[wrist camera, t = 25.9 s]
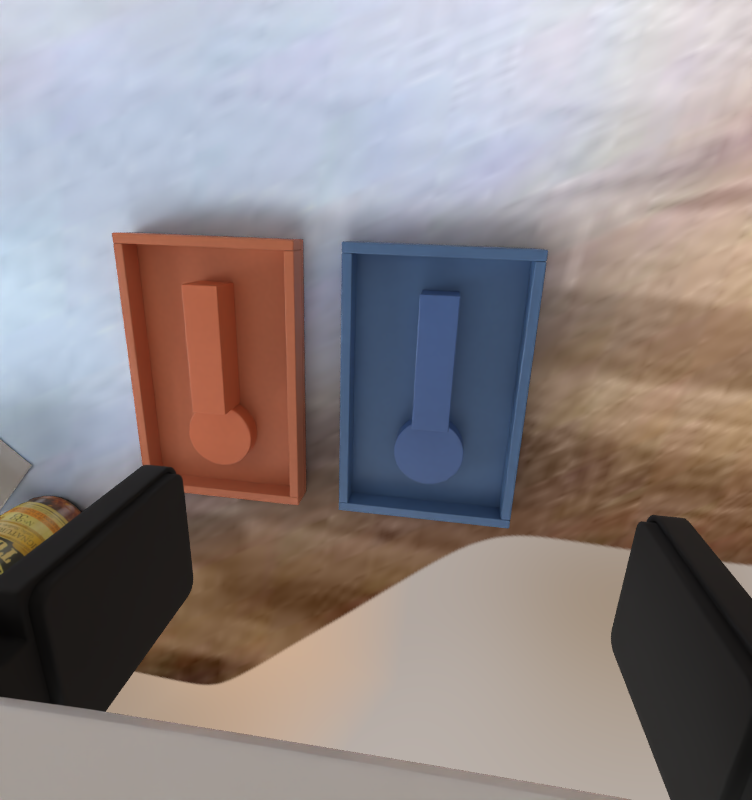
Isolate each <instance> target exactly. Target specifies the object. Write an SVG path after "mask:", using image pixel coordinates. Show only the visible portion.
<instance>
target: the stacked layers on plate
mask: <svg viewBox="0 0 752 800" xmlns="http://www.w3.org/2000/svg"><path fill="white" fill-rule="evenodd" d="M31 466H32V465H31V464H30V463H29V462H27V461H26V460H25V459H24V458H22V457H21V456H20V455H19V454H18V453H16V452H15V451H14V450H13V449H11V448H10V447H9V446H8V445H7V444H5V443H4V442H3V441H2V440H0V510H1V508H2V507H3V506H4V504H5V503H6V501H7V500H8V498H9V497H10V496H11V494H12V493H13V491H14V490H15V489H16V487H17V486H18V484H19V483H20V482H21V480H22V479H23V477H24V476H25V474H26V473H27V472H28V470H29V469H30V467H31Z"/></svg>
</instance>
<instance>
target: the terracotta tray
mask: <svg viewBox="0 0 752 800" xmlns="http://www.w3.org/2000/svg"><path fill="white" fill-rule="evenodd" d="M112 237H113V243H114V244H113V245H114V253H115V260H116V268H117V275H118V283H119V290H120V298H121V305H122V313H123V321H124V328H125V336H126V343H127V351H128V358H129V366H130V373H131V381H132V389H133V396H134V404H135V411H136V419H137V426H138V434H139V441H140V449H141V456H142V464H143V465H156V466H166V467H172V468H173V469H174V470H175V472H176V474H179V475H180V476H181V477H182V479H183V485H184V493H192V494H202V495H211V496H220V497H229V498H238V499H247V500H256V501H265V502H274V503H283V504H292V505H299V503H300V501H301V499H302V498H303V496H304V494H305V492H306V427H305V351H304V275H303V239H282V238H257V237H232V236H207V235H181V234H156V233H112ZM196 281H220V282H233V284H234V301H235V319H236V336H237V354H238V371H239V389H240V403H239V404H240V405H241V406H243V407H244V408H245V409H246V410H247V411H248V412H249V413H250V414H251V416H252V417H253V419H254V421H255V424H256V428H257V439H256V442H255V445H254V447H253V448H252V450H251V451H250V452H249V453H248V454H247V455H246V456H245V457H244V458H243V459H242V460H240V461H239V462H237V463H234V464H230V465H221V464H216V463H213V462H210V461H209V460H207V459H205V458H204V457H203V456H201V455H200V454H199V453H198V452H197V450H196V449H195V448H194V446H193V444H192V442H191V439H190V435H189V425H190V421H191V418H192V416H193V415H194V413H195V412H193V407H192V396H191V385H190V374H189V363H188V352H187V341H186V330H185V319H184V308H183V297H182V286H181V285H182V284H185V283H190V282H196Z"/></svg>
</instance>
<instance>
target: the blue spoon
mask: <svg viewBox="0 0 752 800" xmlns="http://www.w3.org/2000/svg"><path fill="white" fill-rule="evenodd" d="M459 307H460V292H459V291H440V290H422V292H421V294H420V301H419V317H418V333H417V349H416V364H415V380H414V396H413V412H412V419H410V420H409V421H407V422H406V423H405V424H404V425H403V426H402V427H401V429H400V430H399V432H398V435H397V438H396V442H395V445H394V457H395V460H396V463H397V465H398V467H399V468H400V470H401V471H402V472H403V473H404V474H405V475H406V476H407V477H409V478H410V479H412V480H414V481H417V482H420V483H425V484H435V483H440V482H443V481H445V480H447V479H449V478H451V477H452V476H453V475H454V474H455V473H456V472H457V471H458V469H459V468H460V466H461V464H462V461H463V455H464V450H463V440H462V436H461V434H460V432H459V430H458V429H457V428H456V426H455V425H454V424H453V423H452V422H450V421H449V419H450V408H451V396H452V385H453V374H454V363H455V352H456V340H457V329H458V318H459Z"/></svg>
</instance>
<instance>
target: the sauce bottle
mask: <svg viewBox="0 0 752 800" xmlns="http://www.w3.org/2000/svg"><path fill="white" fill-rule="evenodd" d="M80 513H81V512H80V510H79V509H78V508H77V507H76V506H75V505H73V504H72V503H70V502H69V501H68V500H64V499H63V498H60V497H55V496H42V497H38V498H33V499H31V500H29V501H28V502H25V503H22V504H20V505H18V506H16V507H14V508H12V509H11V510H9V511H7V512H6V513H4V514H2V515H1V516H0V575H1V574H2V573H3V572H5V571H6V570H7V569H8V568H10V567H11V566H12V565H14V564H15V563H16V562H18V561H19V560H20V559H21V558H23V557H24V556H25V555H27V554H28V553H29V552H31V551H32V550H33V549H35V548H36V547H37V546H38V545H40V544H41V543H42V542H44V541H45V540H46V539H48V538H49V537H50V536H51V535H53V534H54V533H55V532H57V531H58V530H59V529H61V528H62V527H63V526H65V525H66V524H67V523H68V522H70V521H71V520H72V519H74V518H75V517H76V516H78V515H79V514H80Z"/></svg>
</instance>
